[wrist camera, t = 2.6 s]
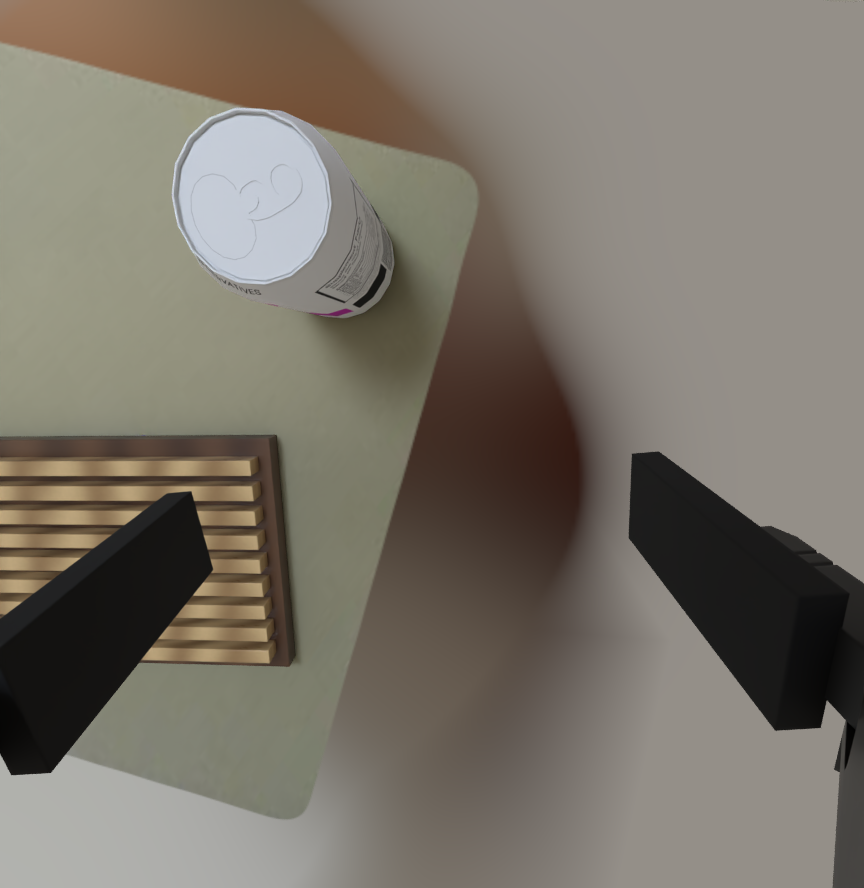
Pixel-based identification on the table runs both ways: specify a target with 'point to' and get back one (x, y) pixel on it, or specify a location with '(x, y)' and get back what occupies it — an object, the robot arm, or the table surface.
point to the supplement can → (280, 215)
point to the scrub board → (128, 494)
